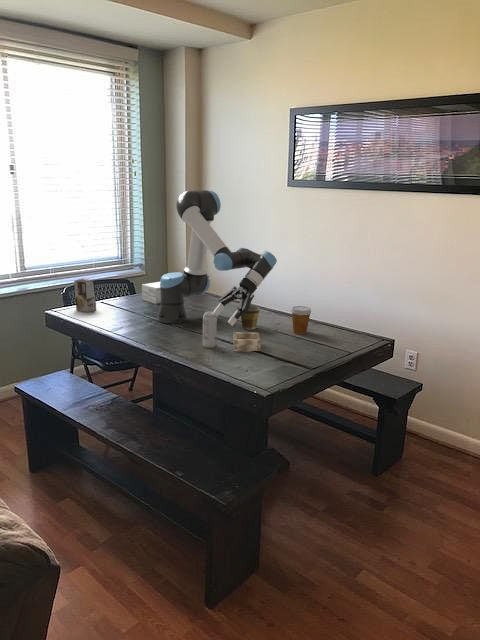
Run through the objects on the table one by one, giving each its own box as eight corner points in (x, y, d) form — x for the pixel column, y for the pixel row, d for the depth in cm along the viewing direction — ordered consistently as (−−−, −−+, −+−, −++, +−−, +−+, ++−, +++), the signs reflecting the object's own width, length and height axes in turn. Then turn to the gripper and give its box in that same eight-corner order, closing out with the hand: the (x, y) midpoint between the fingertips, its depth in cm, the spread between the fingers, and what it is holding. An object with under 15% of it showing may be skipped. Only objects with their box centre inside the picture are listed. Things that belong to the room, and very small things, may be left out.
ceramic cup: (263, 328, 258) (264, 308, 255) (249, 332, 251) (250, 311, 248) (243, 322, 266) (244, 303, 264) (230, 326, 259) (230, 306, 257)
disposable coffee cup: (311, 331, 255) (313, 307, 252) (307, 336, 247) (309, 311, 243) (292, 328, 258) (293, 304, 255) (287, 334, 249) (289, 309, 246)
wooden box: (234, 351, 224) (234, 340, 223) (233, 343, 235) (233, 332, 233) (260, 351, 225) (260, 340, 223) (257, 343, 235) (258, 332, 234)
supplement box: (155, 304, 298) (155, 288, 295) (141, 299, 306) (141, 284, 304) (178, 299, 309) (178, 283, 307) (164, 295, 318) (164, 280, 315)
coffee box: (96, 310, 282) (95, 280, 278) (87, 312, 277) (85, 282, 272) (85, 307, 287) (83, 278, 282) (75, 309, 281) (73, 280, 277)
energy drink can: (218, 347, 228) (218, 314, 224) (204, 348, 226) (204, 315, 222) (214, 343, 233) (215, 310, 229) (201, 344, 232) (201, 311, 228)
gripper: (272, 293, 224) (242, 332, 220) (240, 282, 244) (212, 318, 240) (262, 282, 220) (232, 321, 216) (230, 272, 240) (201, 308, 236)
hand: (221, 319), depth 228 cm, fingers open, 13 cm apart
